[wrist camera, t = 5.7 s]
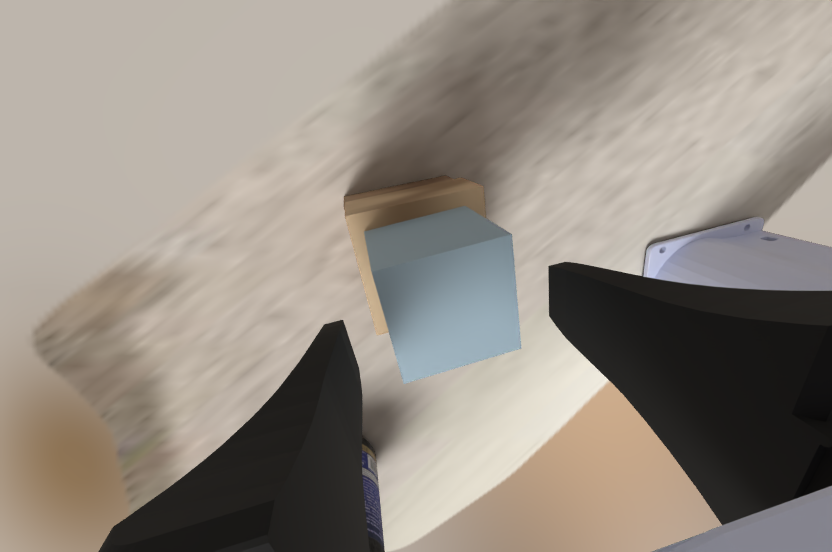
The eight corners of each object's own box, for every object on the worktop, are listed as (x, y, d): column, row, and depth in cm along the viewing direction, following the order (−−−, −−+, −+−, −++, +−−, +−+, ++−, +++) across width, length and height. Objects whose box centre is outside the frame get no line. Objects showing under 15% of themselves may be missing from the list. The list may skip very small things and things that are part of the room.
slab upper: (461, 177, 17) (483, 186, 14) (472, 281, 19) (493, 305, 17) (345, 202, 16) (344, 216, 14) (372, 306, 19) (376, 335, 16)
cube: (464, 205, 14) (511, 234, 10) (477, 294, 16) (521, 348, 12) (363, 231, 14) (371, 271, 10) (389, 320, 16) (403, 383, 12)
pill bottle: (306, 426, 25) (281, 622, 15) (384, 433, 27) (408, 612, 17) (290, 482, 27) (258, 689, 17) (364, 485, 29) (374, 674, 19)
